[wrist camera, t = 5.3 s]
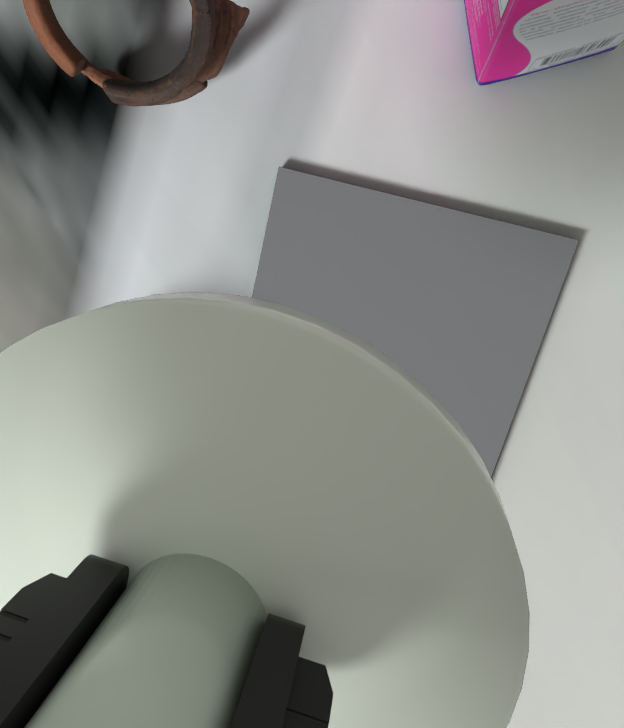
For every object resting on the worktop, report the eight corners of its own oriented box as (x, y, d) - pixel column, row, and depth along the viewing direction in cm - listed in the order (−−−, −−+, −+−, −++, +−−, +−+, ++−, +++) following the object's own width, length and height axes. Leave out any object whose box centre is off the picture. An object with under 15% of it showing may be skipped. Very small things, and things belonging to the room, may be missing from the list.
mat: (575, 239, 26) (578, 240, 25) (478, 503, 30) (479, 508, 29) (281, 167, 27) (279, 166, 26) (226, 430, 31) (223, 433, 30)
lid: (619, 398, 10) (972, 714, 4) (411, 867, 13) (417, 1410, 7) (-29, 218, 10) (-588, 233, 5) (-58, 700, 14) (-392, 1058, 8)
